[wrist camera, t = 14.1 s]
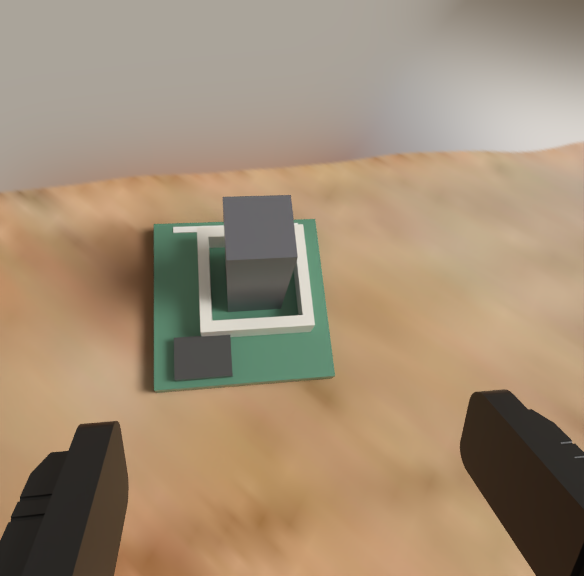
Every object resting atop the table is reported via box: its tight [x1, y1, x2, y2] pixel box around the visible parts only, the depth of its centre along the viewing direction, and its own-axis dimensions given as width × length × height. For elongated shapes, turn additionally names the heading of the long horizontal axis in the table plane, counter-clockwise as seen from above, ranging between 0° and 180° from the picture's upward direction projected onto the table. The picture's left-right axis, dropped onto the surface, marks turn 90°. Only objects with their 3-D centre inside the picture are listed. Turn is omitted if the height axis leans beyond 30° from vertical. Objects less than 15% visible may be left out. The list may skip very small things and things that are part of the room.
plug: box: [223, 195, 298, 312], centre depth 31 cm, size 4×5×10 cm
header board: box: [154, 219, 335, 393], centre depth 35 cm, size 13×13×3 cm
